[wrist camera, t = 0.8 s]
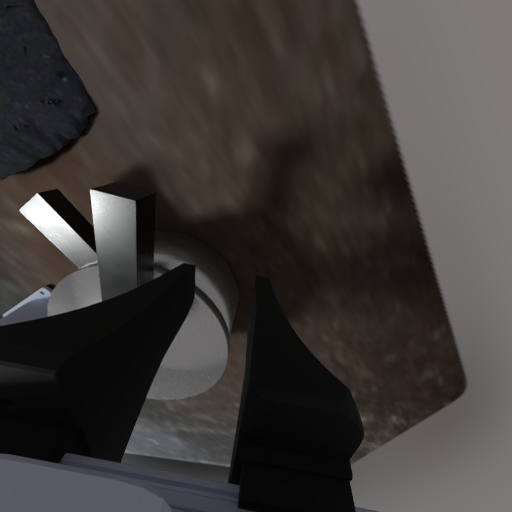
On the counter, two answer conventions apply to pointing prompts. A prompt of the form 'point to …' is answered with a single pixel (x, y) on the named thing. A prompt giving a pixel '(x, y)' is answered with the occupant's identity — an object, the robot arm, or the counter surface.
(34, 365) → the robot arm
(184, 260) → the pot
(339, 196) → the counter surface
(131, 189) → the lid
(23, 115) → the dark slate chunk
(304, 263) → the counter surface
